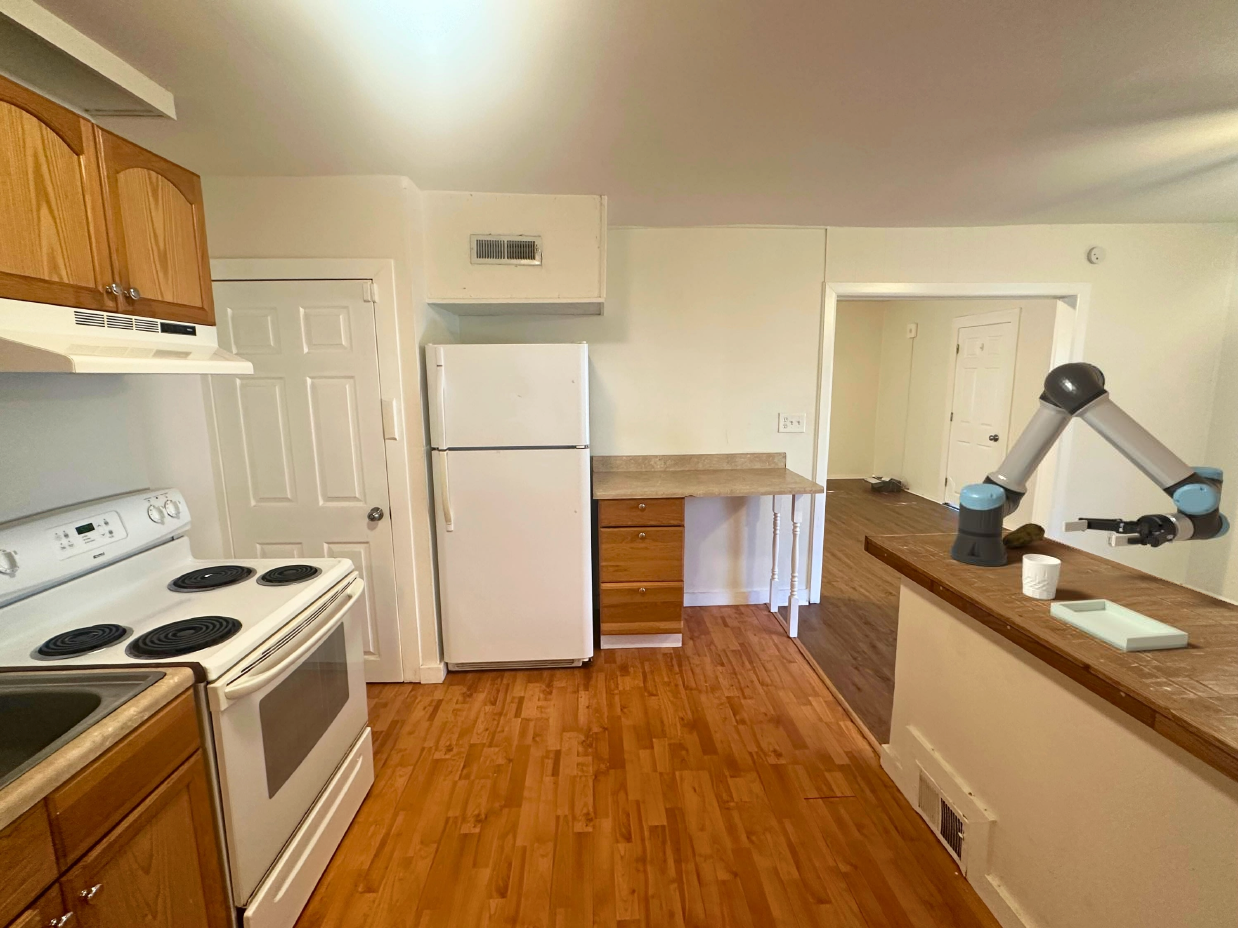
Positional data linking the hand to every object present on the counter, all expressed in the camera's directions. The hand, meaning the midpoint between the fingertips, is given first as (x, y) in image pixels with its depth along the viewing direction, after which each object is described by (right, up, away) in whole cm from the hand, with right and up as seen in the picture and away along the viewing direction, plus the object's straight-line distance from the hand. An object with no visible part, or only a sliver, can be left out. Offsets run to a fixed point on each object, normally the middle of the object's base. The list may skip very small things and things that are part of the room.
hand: (1087, 533), depth 137 cm
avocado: (+13, -10, +40) cm, 43 cm away
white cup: (-11, -17, +3) cm, 20 cm away
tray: (-9, -20, -17) cm, 28 cm away
